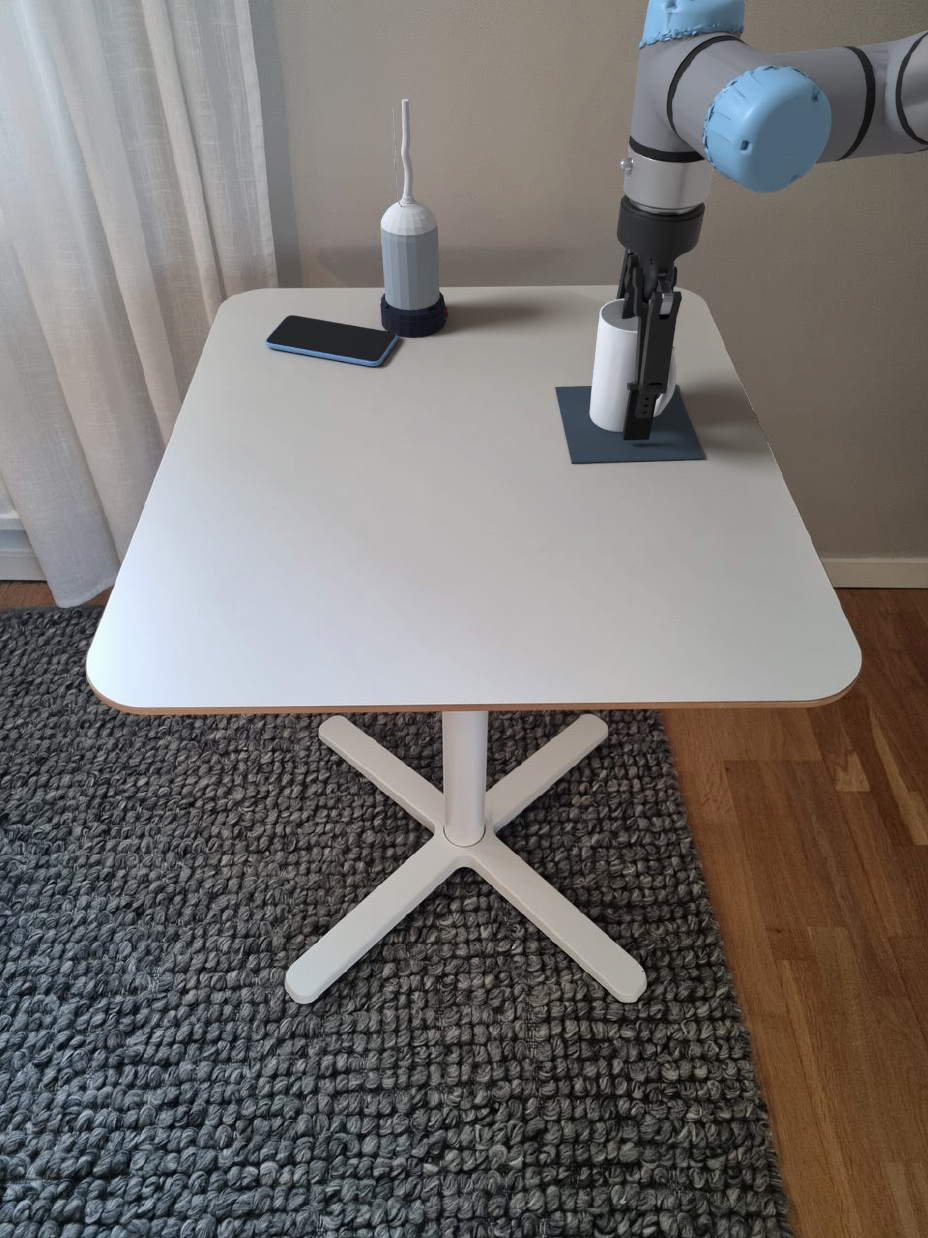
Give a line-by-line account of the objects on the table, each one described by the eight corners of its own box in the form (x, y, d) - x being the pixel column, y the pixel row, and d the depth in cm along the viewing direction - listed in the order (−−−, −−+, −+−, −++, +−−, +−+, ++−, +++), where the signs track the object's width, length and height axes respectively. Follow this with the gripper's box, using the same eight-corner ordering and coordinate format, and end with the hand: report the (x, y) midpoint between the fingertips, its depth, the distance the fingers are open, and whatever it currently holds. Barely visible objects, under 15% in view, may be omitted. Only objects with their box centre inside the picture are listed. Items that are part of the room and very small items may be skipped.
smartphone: (378, 362, 102) (261, 342, 105) (378, 369, 102) (262, 348, 105) (400, 331, 106) (287, 312, 109) (400, 337, 107) (288, 318, 110)
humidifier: (459, 318, 110) (458, 98, 92) (416, 344, 106) (406, 119, 87) (411, 298, 114) (400, 82, 95) (367, 323, 109) (348, 102, 91)
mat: (704, 459, 91) (705, 458, 91) (571, 463, 90) (571, 462, 90) (675, 384, 100) (676, 383, 100) (555, 388, 100) (555, 386, 100)
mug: (574, 412, 96) (585, 311, 87) (618, 392, 99) (633, 291, 90) (638, 457, 91) (657, 354, 82) (683, 434, 93) (706, 331, 85)
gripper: (603, 153, 84) (580, 361, 101) (644, 252, 70) (609, 475, 87) (679, 152, 85) (643, 360, 102) (736, 250, 71) (683, 472, 87)
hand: (627, 413), depth 94 cm, fingers closed on mug, 8 cm apart
